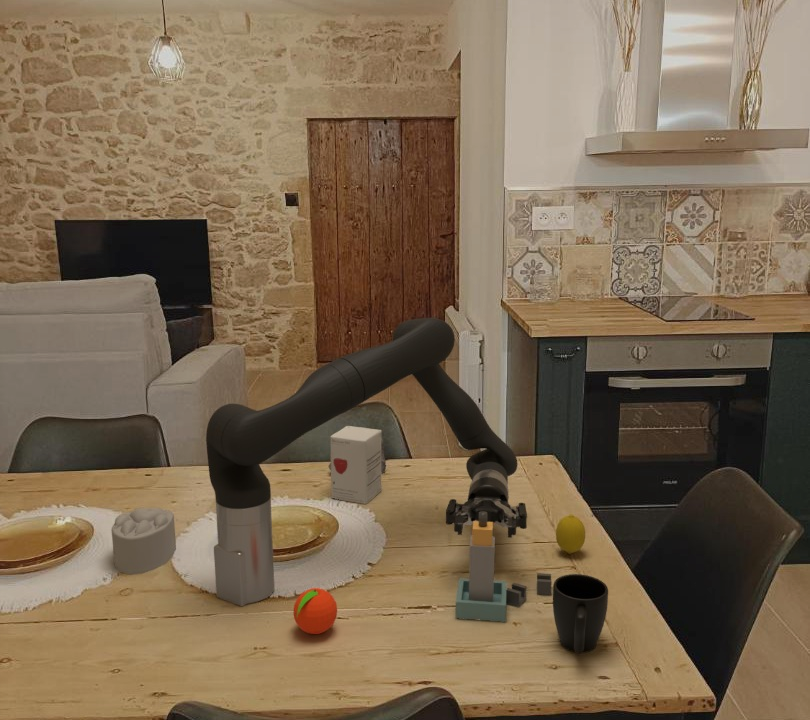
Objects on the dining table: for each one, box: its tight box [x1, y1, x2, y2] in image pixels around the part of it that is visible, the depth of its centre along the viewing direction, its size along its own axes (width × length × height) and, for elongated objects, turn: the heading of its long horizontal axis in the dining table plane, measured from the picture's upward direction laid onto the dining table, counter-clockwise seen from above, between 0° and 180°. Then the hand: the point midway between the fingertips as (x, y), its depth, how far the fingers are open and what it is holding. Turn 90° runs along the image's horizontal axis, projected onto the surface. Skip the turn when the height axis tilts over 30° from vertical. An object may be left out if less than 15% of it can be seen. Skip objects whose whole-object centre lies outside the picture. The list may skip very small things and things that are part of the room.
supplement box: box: [330, 425, 383, 505], centre depth 182 cm, size 9×9×15 cm
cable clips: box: [506, 572, 552, 608], centre depth 138 cm, size 9×5×2 cm, turn 147°
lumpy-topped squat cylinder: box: [111, 507, 177, 575], centre depth 152 cm, size 10×13×9 cm
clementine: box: [293, 587, 338, 635], centre depth 127 cm, size 8×7×7 cm
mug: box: [552, 573, 609, 654], centre depth 122 cm, size 8×12×10 cm
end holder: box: [455, 577, 508, 623], centre depth 135 cm, size 8×8×3 cm
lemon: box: [555, 514, 586, 555], centre depth 154 cm, size 6×6×8 cm
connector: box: [468, 511, 496, 602], centre depth 133 cm, size 4×4×16 cm
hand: (484, 531), depth 137 cm, fingers open, 8 cm apart
